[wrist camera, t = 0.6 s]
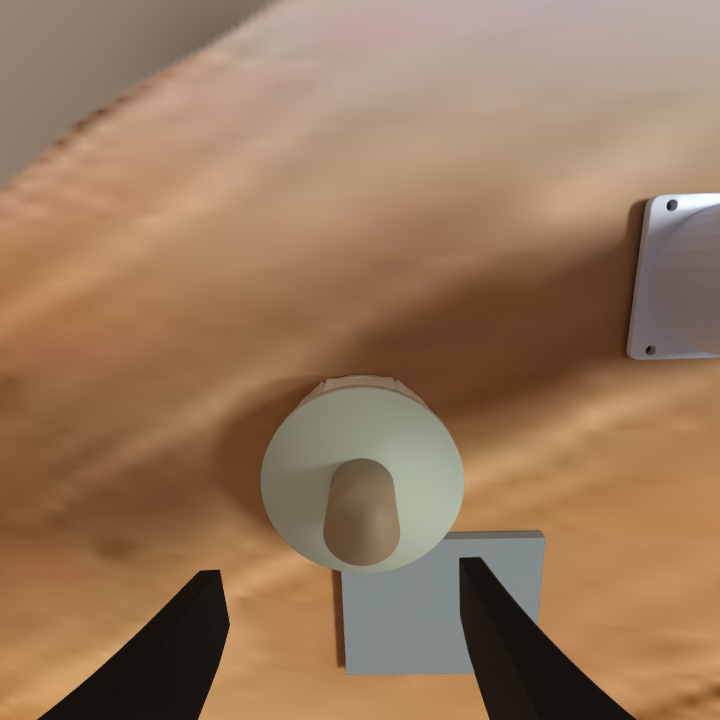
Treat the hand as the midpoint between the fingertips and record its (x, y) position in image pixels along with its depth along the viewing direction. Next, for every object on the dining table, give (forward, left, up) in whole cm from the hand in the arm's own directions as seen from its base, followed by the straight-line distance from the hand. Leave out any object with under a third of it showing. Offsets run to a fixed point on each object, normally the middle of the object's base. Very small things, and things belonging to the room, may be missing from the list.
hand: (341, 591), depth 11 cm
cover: (-1, +1, -7) cm, 7 cm away
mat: (-5, +11, -10) cm, 16 cm away
